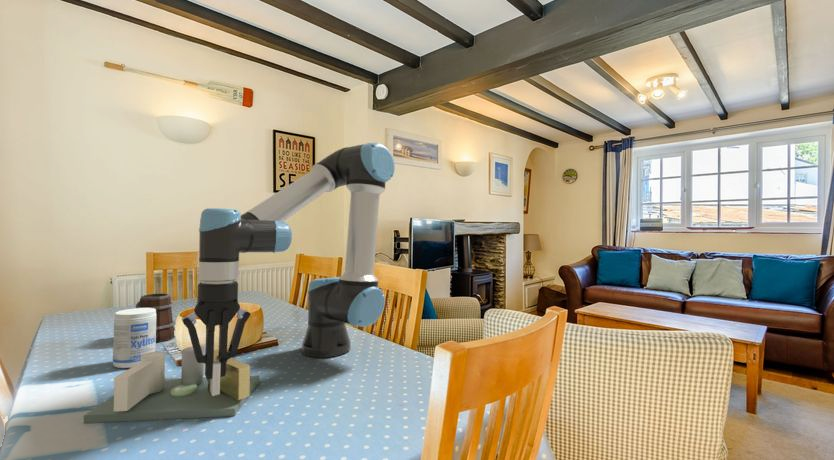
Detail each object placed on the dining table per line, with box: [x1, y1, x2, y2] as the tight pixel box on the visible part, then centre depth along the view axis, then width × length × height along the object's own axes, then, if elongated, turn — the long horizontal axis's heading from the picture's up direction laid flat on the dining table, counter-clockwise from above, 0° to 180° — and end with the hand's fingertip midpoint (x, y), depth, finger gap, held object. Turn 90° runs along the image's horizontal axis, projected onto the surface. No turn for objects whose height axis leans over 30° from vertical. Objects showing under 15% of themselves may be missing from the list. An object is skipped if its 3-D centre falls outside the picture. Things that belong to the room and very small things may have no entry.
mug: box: [134, 293, 176, 344], centre depth 125 cm, size 16×12×15 cm
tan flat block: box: [208, 349, 251, 400], centre depth 81 cm, size 4×13×8 cm, turn 55°
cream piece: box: [113, 350, 166, 411], centre depth 78 cm, size 4×13×8 cm, turn 8°
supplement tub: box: [112, 307, 157, 369], centre depth 103 cm, size 10×10×15 cm
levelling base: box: [83, 344, 260, 424], centre depth 83 cm, size 28×19×10 cm
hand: (214, 392), depth 77 cm, fingers closed
